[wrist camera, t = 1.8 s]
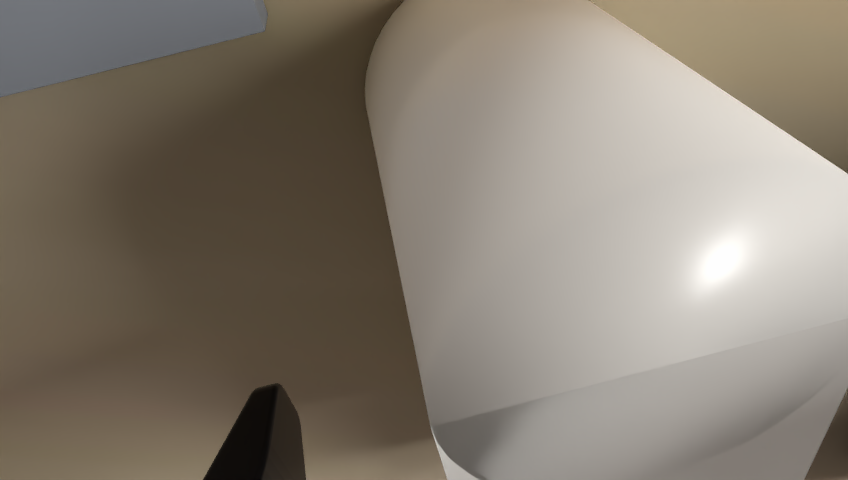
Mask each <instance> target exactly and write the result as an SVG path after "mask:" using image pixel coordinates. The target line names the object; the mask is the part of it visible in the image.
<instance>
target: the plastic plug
mask: <svg viewBox="0 0 848 480" xmlns="http://www.w3.org/2000/svg"><path fill="white" fill-rule="evenodd" d="M365 102H366V109H367V114H368V119H369V124H370V129H371V134H372V139H373V144H374V149H375V154H376V159H377V164H378V169H379V174H380V179H381V184H382V189H383V194H384V199H385V204H386V209H387V214H388V219H389V223H390V228H391V233H392V238H393V243H394V248H395V253H396V258H397V263H398V268H399V273H400V278H401V283H402V288H403V293H404V298H405V303H406V308H407V313H408V318H409V323H410V328H411V333H412V338H413V343H414V348H415V353H416V357H417V362H418V367H419V372H420V377H421V382H422V387H423V392H424V397H425V402H426V407H427V412H428V417H429V422H430V427H431V430H432V433H433V436H434V439H435V442H436V446H437V449H438V452H439V455H440V458H441V461H442V464H443V467H444V470H445V474H446V477H447V480H804V479H805V477H806V475H807V472H808V470H809V468H810V466H811V464H812V462H813V460H814V458H815V456H816V454H817V451H818V449H819V447H820V445H821V443H822V441H823V439H824V437H825V435H826V432H827V430H828V428H829V426H830V424H831V422H832V420H833V418H834V416H835V414H836V411H837V409H838V407H839V405H840V403H841V401H842V399H843V397H844V395H845V393H846V390H847V388H848V174H847V173H846V172H844V171H843V170H841V169H840V168H838V167H837V166H835V165H834V164H832V163H831V162H829V161H828V160H826V159H825V158H823V157H822V156H820V155H819V154H817V153H816V152H814V151H813V150H812V149H810V148H809V147H807V146H806V145H804V144H803V143H801V142H800V141H798V140H797V139H795V138H794V137H792V136H791V135H789V134H788V133H786V132H785V131H783V130H782V129H780V128H779V127H777V126H776V125H774V124H773V123H771V122H770V121H768V120H767V119H765V118H764V117H762V116H761V115H759V114H758V113H756V112H755V111H753V110H752V109H750V108H749V107H747V106H746V105H744V104H743V103H741V102H740V101H738V100H737V99H735V98H734V97H732V96H731V95H729V94H728V93H726V92H725V91H723V90H722V89H720V88H719V87H717V86H716V85H714V84H713V83H711V82H710V81H708V80H707V79H705V78H704V77H702V76H701V75H699V74H698V73H696V72H695V71H693V70H692V69H690V68H689V67H687V66H686V65H684V64H683V63H681V62H680V61H678V60H677V59H675V58H674V57H672V56H671V55H669V54H668V53H666V52H665V51H663V50H662V49H660V48H659V47H658V46H656V45H655V44H653V43H652V42H650V41H649V40H647V39H646V38H644V37H643V36H641V35H640V34H638V33H637V32H635V31H634V30H632V29H631V28H629V27H628V26H626V25H625V24H623V23H622V22H620V21H619V20H617V19H616V18H614V17H613V16H611V15H610V14H608V13H607V12H605V11H604V10H602V9H601V8H599V7H598V6H596V5H595V4H593V3H592V2H590V1H589V0H404V1H403V2H402V3H401V4H400V6H399V7H398V8H397V9H396V10H395V11H394V12H393V14H392V15H391V16H390V18H389V19H388V21H387V22H386V24H385V25H384V27H383V28H382V30H381V32H380V34H379V36H378V38H377V40H376V42H375V44H374V47H373V50H372V53H371V56H370V58H369V63H368V68H367V72H366V81H365Z"/></svg>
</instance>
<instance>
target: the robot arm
mask: <svg viewBox="0 0 848 480" xmlns="http://www.w3.org/2000/svg"><path fill="white" fill-rule="evenodd" d="M203 480H306V475H305V465H304V455H303V445H302V435H301V426H300V420H299V416H298V413H297V411H296V409H295V407H294V405H293V404H292V402H291V400H290V398H289V397H288V395H287V393H286V391H285V390H284V388H283V387H282V385H280V384H278V383H275V384H271V385H267V386H263V387H259V388H257V389H255V390H254V391H253V392H252V393H251V395H250V397H249V398H248V400H247V402H246V404H245V406H244V407H243V409H242V411H241V413H240V415H239V416H238V418H237V420H236V422H235V424H234V425H233V427H232V429H231V431H230V432H229V434H228V436H227V438H226V440H225V441H224V443H223V445H222V447H221V449H220V450H219V452H218V454H217V456H216V457H215V459H214V461H213V463H212V465H211V466H210V468H209V470H208V472H207V474H206V475H205V477H204V479H203Z"/></svg>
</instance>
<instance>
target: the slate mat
mask: <svg viewBox="0 0 848 480" xmlns="http://www.w3.org/2000/svg"><path fill="white" fill-rule="evenodd" d="M267 17H268V13H267V10H266V7H265V5H264V2H263V0H0V97H3V96H7V95H11V94H15V93H19V92H23V91H27V90H31V89H35V88H39V87H43V86H47V85H51V84H55V83H59V82H63V81H67V80H71V79H75V78H79V77H83V76H87V75H91V74H95V73H99V72H103V71H107V70H111V69H115V68H120V67H124V66H128V65H132V64H136V63H140V62H144V61H148V60H152V59H156V58H160V57H164V56H168V55H172V54H176V53H180V52H184V51H188V50H192V49H196V48H200V47H204V46H208V45H212V44H216V43H220V42H224V41H228V40H232V39H236V38H240V37H244V36H248V35H252V34H256V33H260V32H264V31H265V27H266V22H267Z"/></svg>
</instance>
